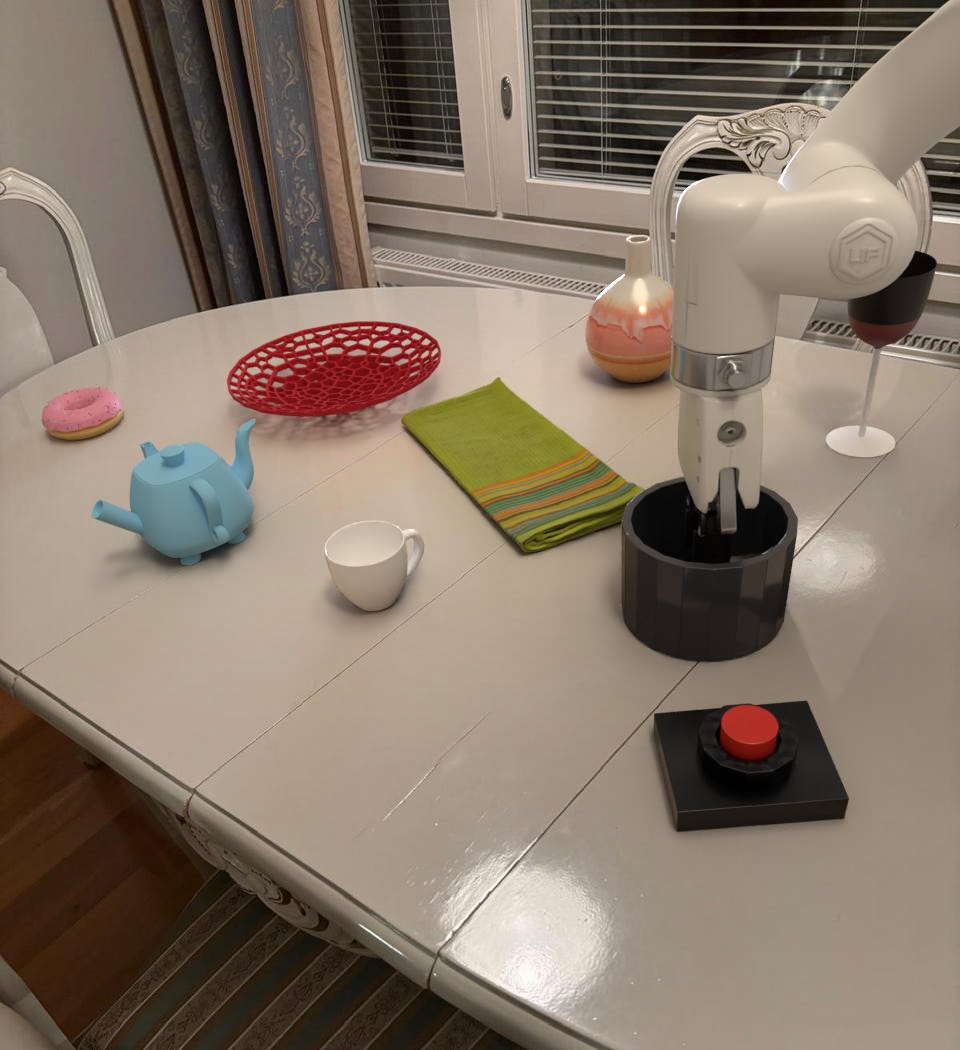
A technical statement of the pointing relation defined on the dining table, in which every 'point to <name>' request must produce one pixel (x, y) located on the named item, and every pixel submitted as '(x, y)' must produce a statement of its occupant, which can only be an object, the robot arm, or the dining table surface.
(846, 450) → the wineglass
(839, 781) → the base unit
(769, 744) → the button
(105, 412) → the doughnut
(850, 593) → the dining table surface
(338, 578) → the cup
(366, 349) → the bowl
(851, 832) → the dining table surface
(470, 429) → the dish towel
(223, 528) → the teapot
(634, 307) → the vase
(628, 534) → the dark grey round bin
